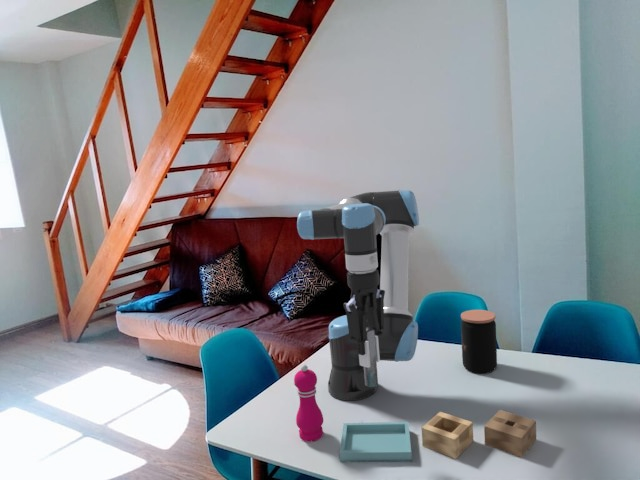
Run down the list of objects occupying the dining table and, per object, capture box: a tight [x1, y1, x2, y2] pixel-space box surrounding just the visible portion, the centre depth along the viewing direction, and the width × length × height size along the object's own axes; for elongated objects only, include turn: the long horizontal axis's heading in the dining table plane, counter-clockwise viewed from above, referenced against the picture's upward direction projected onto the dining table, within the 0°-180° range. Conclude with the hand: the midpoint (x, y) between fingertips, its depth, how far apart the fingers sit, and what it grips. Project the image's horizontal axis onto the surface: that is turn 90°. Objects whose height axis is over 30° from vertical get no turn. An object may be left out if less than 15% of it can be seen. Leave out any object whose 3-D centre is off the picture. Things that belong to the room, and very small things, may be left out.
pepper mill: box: [293, 364, 324, 443], centre depth 130 cm, size 7×7×20 cm
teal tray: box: [339, 421, 413, 463], centre depth 124 cm, size 17×13×2 cm
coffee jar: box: [460, 309, 498, 375], centre depth 160 cm, size 11×11×18 cm
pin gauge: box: [364, 328, 379, 387], centre depth 120 cm, size 3×3×14 cm
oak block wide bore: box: [421, 411, 474, 460], centre depth 122 cm, size 9×9×5 cm
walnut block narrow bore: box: [483, 409, 537, 458], centre depth 120 cm, size 9×9×5 cm
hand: (369, 362), depth 121 cm, fingers closed on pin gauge, 3 cm apart
